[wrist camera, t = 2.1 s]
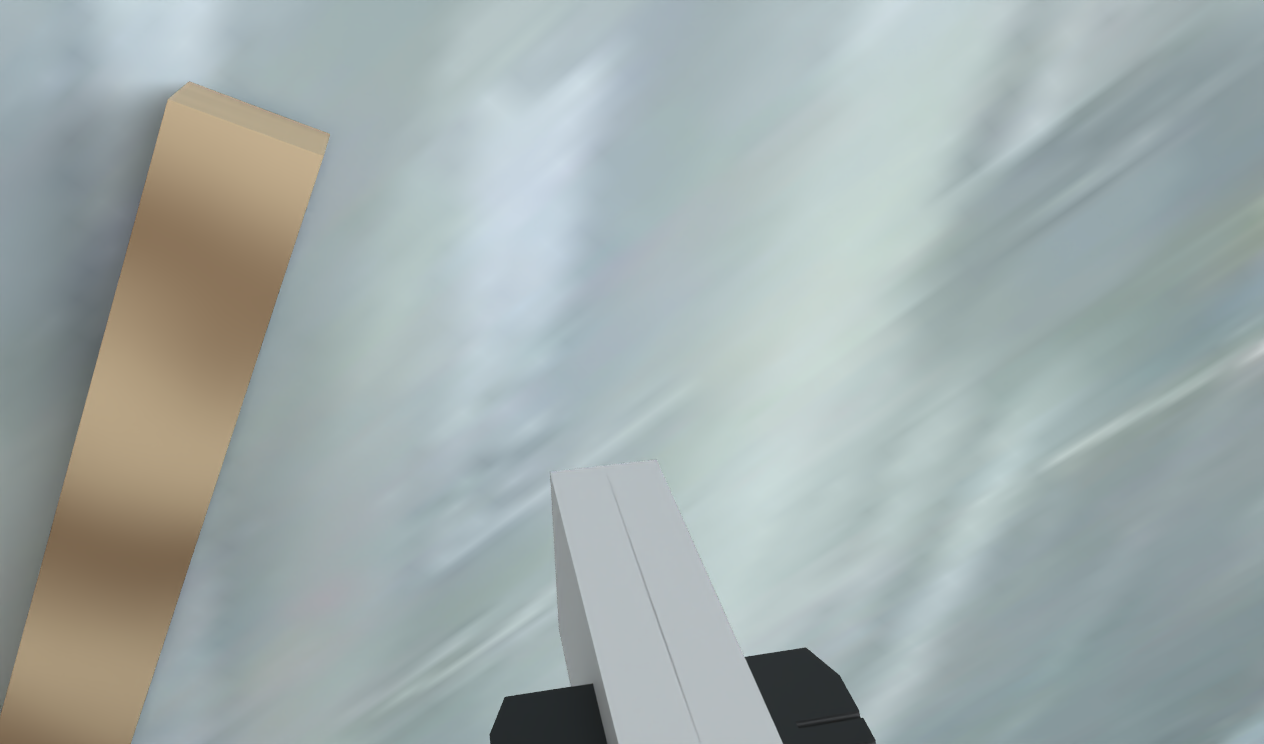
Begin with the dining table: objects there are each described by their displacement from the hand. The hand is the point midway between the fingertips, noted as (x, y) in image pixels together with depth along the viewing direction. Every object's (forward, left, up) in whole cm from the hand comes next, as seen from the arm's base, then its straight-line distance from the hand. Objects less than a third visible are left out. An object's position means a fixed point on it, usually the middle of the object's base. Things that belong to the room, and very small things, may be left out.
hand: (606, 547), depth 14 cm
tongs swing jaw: (-6, +10, -12) cm, 16 cm away
